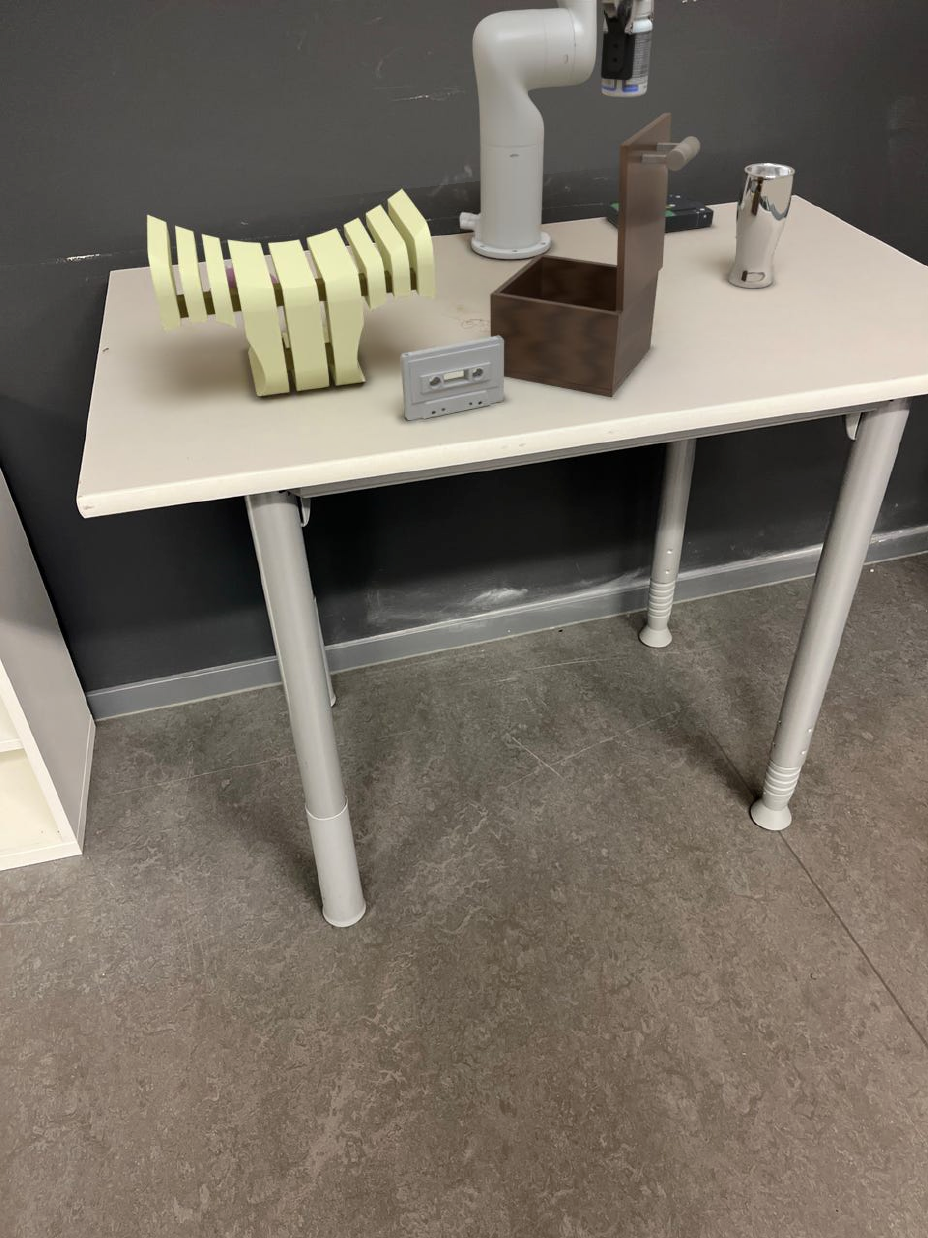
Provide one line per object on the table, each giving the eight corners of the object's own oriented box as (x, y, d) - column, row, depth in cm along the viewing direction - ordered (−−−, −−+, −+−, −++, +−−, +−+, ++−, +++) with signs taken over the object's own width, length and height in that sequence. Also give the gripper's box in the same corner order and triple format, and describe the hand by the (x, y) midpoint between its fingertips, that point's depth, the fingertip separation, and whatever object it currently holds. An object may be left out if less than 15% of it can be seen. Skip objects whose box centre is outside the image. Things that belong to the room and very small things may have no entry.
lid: (619, 144, 90) (673, 146, 88) (663, 112, 100) (712, 113, 98) (615, 310, 101) (663, 315, 99) (656, 266, 111) (700, 269, 109)
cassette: (408, 423, 104) (403, 358, 99) (402, 415, 105) (398, 352, 100) (505, 402, 107) (506, 339, 102) (499, 395, 108) (499, 333, 103)
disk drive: (682, 209, 160) (604, 218, 156) (685, 192, 158) (605, 201, 154) (712, 227, 152) (631, 237, 149) (715, 210, 150) (633, 219, 147)
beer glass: (770, 272, 136) (791, 162, 126) (778, 290, 131) (800, 176, 121) (722, 271, 137) (740, 162, 127) (728, 289, 131) (746, 176, 122)
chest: (490, 373, 113) (490, 293, 106) (536, 328, 123) (539, 253, 116) (611, 397, 107) (618, 314, 101) (650, 348, 117) (659, 270, 111)
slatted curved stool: (185, 417, 106) (147, 260, 94) (181, 360, 118) (147, 214, 106) (439, 382, 111) (432, 229, 100) (410, 330, 123) (402, 188, 111)
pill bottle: (649, 89, 98) (659, -6, 93) (642, 98, 95) (651, 1, 90) (605, 87, 100) (612, -7, 94) (596, 96, 96) (603, 0, 91)
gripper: (632, -157, 91) (616, 56, 103) (572, -151, 80) (562, 87, 92) (707, -158, 89) (681, 60, 101) (656, -153, 77) (634, 93, 89)
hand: (624, 71), depth 96 cm, fingers closed on pill bottle, 4 cm apart
